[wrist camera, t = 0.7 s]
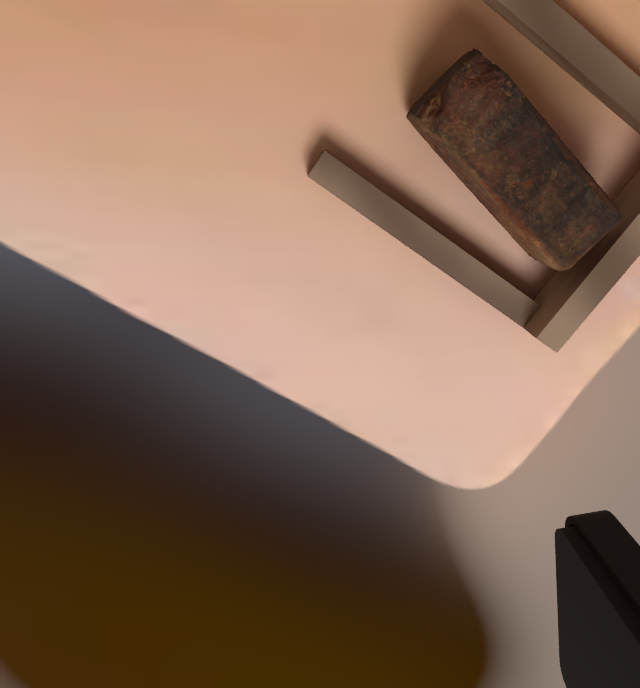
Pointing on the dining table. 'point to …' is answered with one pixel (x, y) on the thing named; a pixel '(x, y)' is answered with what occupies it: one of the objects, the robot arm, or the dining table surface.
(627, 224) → the lane rack
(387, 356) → the dining table surface
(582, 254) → the brick
